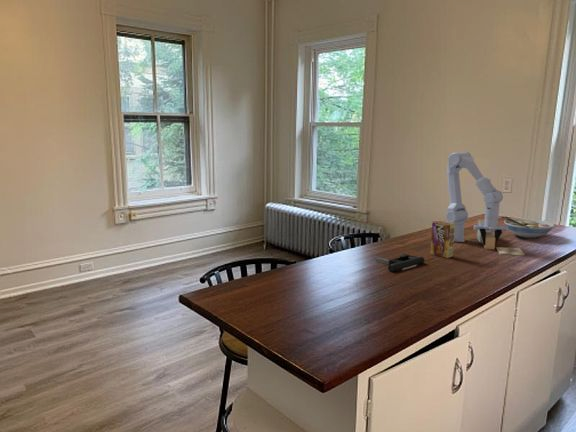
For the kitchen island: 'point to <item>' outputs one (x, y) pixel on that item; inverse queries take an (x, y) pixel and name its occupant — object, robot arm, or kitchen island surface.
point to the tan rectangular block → (489, 242)
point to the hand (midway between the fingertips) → (489, 245)
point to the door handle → (401, 262)
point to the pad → (510, 251)
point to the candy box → (442, 238)
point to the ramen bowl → (528, 227)
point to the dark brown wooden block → (481, 222)
